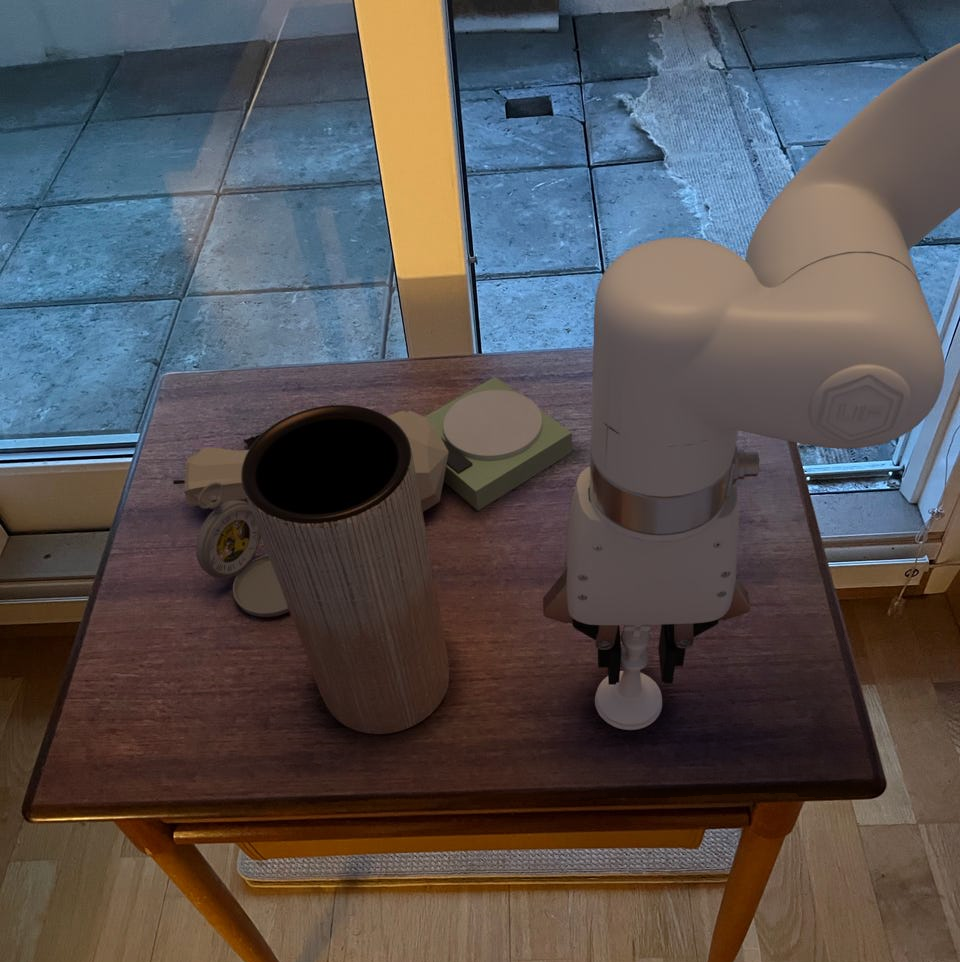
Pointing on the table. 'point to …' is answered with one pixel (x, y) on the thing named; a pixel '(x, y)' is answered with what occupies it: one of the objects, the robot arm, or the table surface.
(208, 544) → the pocket watch
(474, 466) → the scale
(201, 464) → the faceted club
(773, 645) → the table surface
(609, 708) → the chess piece
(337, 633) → the planter
